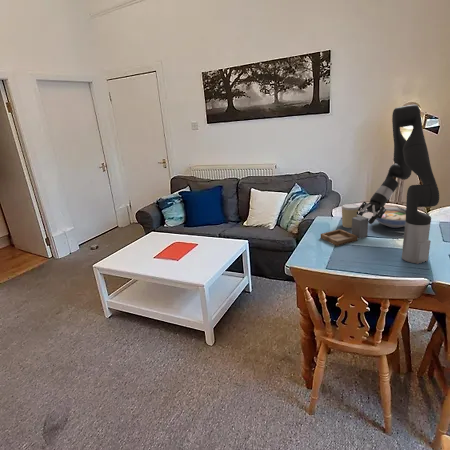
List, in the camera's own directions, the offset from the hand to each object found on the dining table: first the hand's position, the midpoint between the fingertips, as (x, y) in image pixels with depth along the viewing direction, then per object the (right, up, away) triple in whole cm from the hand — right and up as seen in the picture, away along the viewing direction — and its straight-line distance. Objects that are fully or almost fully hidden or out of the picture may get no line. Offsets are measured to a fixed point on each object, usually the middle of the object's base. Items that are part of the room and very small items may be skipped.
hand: (363, 221), depth 169 cm
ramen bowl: (+22, -3, +11) cm, 25 cm away
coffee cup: (-1, -3, +18) cm, 18 cm away
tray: (-13, -10, 0) cm, 16 cm away
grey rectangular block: (-1, -8, +2) cm, 8 cm away
